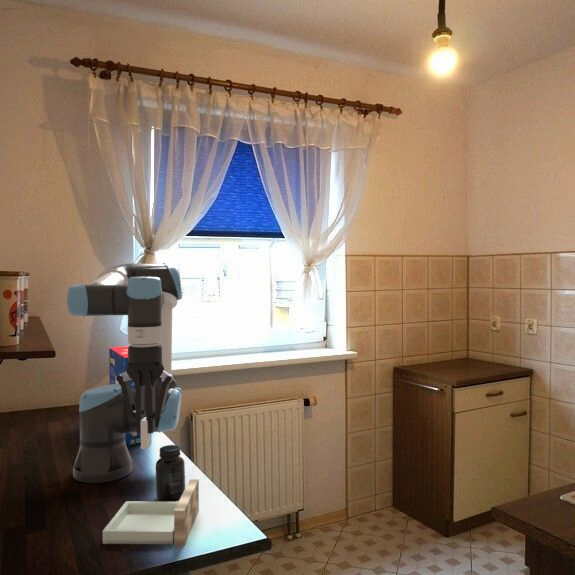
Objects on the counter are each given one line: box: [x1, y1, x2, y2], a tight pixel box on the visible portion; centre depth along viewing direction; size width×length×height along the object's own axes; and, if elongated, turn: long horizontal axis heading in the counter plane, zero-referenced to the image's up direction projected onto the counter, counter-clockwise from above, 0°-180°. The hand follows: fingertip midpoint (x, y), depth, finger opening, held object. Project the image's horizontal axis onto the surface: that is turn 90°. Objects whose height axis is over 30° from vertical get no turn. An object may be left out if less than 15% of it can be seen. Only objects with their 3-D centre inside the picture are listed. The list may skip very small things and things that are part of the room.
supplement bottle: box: [155, 444, 186, 502], centre depth 126 cm, size 7×7×12 cm
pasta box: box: [108, 345, 141, 446], centre depth 179 cm, size 28×8×28 cm, turn 29°
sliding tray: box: [102, 500, 179, 545], centre depth 111 cm, size 14×14×2 cm
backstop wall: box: [173, 478, 200, 547], centre depth 111 cm, size 16×2×7 cm, turn 0°
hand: (145, 446), depth 120 cm, fingers closed
